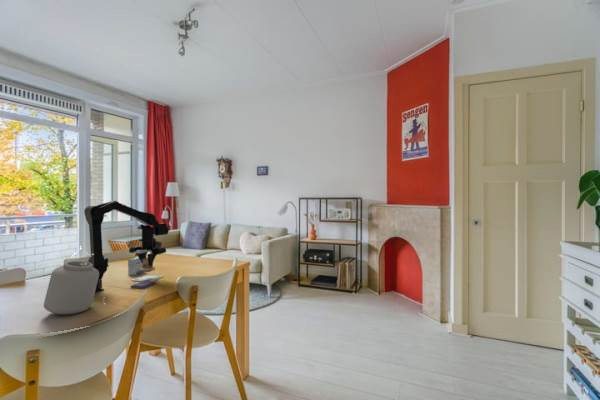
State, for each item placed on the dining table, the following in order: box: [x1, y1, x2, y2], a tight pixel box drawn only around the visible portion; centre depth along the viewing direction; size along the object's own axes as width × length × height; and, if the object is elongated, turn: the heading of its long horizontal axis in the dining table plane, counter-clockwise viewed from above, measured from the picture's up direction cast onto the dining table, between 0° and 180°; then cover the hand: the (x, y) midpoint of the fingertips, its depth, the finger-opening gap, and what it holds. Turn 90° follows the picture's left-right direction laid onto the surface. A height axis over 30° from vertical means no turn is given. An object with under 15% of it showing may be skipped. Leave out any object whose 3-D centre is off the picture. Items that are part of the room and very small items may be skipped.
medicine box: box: [127, 256, 143, 276], centre depth 165 cm, size 8×4×9 cm, turn 179°
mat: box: [130, 274, 165, 283], centre depth 154 cm, size 11×11×1 cm
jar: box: [43, 245, 106, 315], centre depth 111 cm, size 19×15×25 cm
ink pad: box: [130, 280, 158, 290], centre depth 142 cm, size 9×7×1 cm
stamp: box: [140, 256, 156, 273], centre depth 154 cm, size 5×5×7 cm
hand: (147, 266), depth 154 cm, fingers closed on stamp, 3 cm apart
